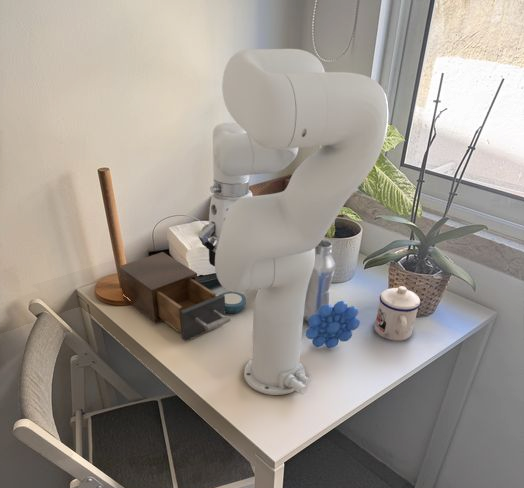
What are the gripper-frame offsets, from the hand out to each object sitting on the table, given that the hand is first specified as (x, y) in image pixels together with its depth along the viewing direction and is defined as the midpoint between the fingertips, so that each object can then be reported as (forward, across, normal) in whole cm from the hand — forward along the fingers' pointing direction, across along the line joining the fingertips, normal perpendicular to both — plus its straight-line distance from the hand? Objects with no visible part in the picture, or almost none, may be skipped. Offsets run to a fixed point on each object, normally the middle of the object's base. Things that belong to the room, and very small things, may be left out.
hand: (231, 259), depth 119 cm
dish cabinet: (+13, -12, +13) cm, 22 cm away
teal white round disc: (+13, 0, 0) cm, 13 cm away
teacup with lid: (+13, +22, -33) cm, 42 cm away
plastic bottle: (+13, +12, -17) cm, 25 cm away
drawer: (+12, -12, -1) cm, 17 cm away
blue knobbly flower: (+13, +7, -26) cm, 30 cm away
